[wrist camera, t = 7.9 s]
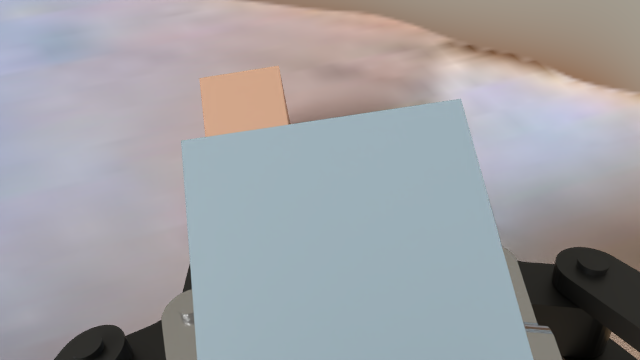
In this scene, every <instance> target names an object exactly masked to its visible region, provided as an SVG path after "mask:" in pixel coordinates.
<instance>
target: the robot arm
mask: <svg viewBox="0 0 640 360" xmlns="http://www.w3.org/2000/svg"><path fill="white" fill-rule="evenodd" d="M502 249H503V252H504V256H505V259H506V263H507V266H508V270H509V274H510V277H511V281H512V284H513V288H514V292H515V295H516V299H517V302H518V306H519V310H520V313H521V317H522V320H523V324H524V327H525V331H526V335H527V338H528V342H529V345H530V349H531V353H532V356H533V360H637V359H636V358H635V357H634V356H632V355H631V354H630V353H628V352H627V351H626V350H624V349H623V348H622V347H620V346H619V345H618V344H617V343H615V342H614V341H613V340H611V339H610V338H609V337H610V334H611V331H612V332H613V333H615V334H616V335H617V336H619V337H620V338H621V339H623V340H624V341H625V342H627V343H628V344H629V345H631V346H632V347H633V348H635V349H636V350H637V351H639V352H640V272H639V271H637V270H635V269H633V268H632V267H630V266H628V265H627V264H625V263H623V262H622V261H620V260H618V259H616V258H615V257H613V256H611V255H609V254H607V253H605V252H602V251H599V250H596V249H591V248H585V247H574V248H568V249H565V250H563V251H561V252H560V253H559V254H558V255H557V257H556V261H555V264H543V263H529V262H521V261H517V260H516V258H515V256H514V255H513V254H512V253H511V252H510V251H508V250H507V249H505V248H504V247H502ZM54 360H197V350H196V336H195V323H194V309H193V295H192V282H191V268H190V265H189V269H188V273H187V277H186V281H185V285H184V289H183V293H182V294H180V295H178V296H177V297H175V298H174V299H173V300H172V301H171V302H170V303H169V304H168V305H167V306H166V308H165V310H164V312H163V314H162V320H160V321H158V322H157V323H155V324H153V325H151V326H148V327H146V328H144V329H141V330H139V331H137V332H134V333H132V334H129V335H127V336H125V334H124V332H123V331H122V330H121V329H120V328H119V327H117V326H114V325H102V326H97V327H94V328H91V329H89V330H87V331H85V332H83V333H81V334H80V335H78V336H76V337H75V338H74V339H72V340H71V341H70V342H69V343H68V344H67V345H66V346H65V347H64V348H63V349H62V350H61V352H60V353H59V354H58V355H57V356H56V358H55V359H54Z"/></svg>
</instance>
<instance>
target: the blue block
mask: <svg viewBox="0 0 640 360" xmlns="http://www.w3.org/2000/svg"><path fill="white" fill-rule="evenodd" d="M181 145H182V159H183V173H184V186H185V200H186V213H187V227H188V241H189V254H190V268H191V282H192V295H193V309H194V323H195V336H196V350H197V360H533V356H532V353H531V349H530V345H529V342H528V338H527V335H526V331H525V327H524V324H523V320H522V317H521V313H520V310H519V306H518V302H517V299H516V295H515V292H514V288H513V284H512V281H511V277H510V274H509V270H508V266H507V263H506V259H505V256H504V252H503V249H502V245H501V241H500V238H499V234H498V231H497V227H496V223H495V220H494V216H493V213H492V209H491V206H490V202H489V198H488V195H487V191H486V188H485V184H484V180H483V177H482V173H481V170H480V166H479V162H478V159H477V155H476V152H475V148H474V145H473V141H472V137H471V134H470V130H469V127H468V123H467V119H466V116H465V112H464V109H463V105H462V101H461V99H456V100H450V101H443V102H436V103H430V104H423V105H416V106H410V107H403V108H396V109H389V110H383V111H376V112H369V113H363V114H356V115H349V116H343V117H336V118H329V119H323V120H316V121H309V122H303V123H296V124H289V125H283V126H276V127H269V128H263V129H256V130H249V131H243V132H236V133H229V134H223V135H216V136H209V137H203V138H196V139H189V140H183V141H181Z"/></svg>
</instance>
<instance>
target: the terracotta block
mask: <svg viewBox="0 0 640 360" xmlns="http://www.w3.org/2000/svg"><path fill="white" fill-rule="evenodd" d="M200 88H201V98H202V107H203V117H204V126H205V136H206V137H209V136H216V135H223V134H229V133H236V132H243V131H249V130H256V129H263V128H269V127H276V126H283V125H289V124H290V120H289V115H288V110H287V105H286V100H285V95H284V90H283V85H282V80H281V75H280V70H279V66H274V67H268V68H261V69H255V70H249V71H242V72H236V73H230V74H223V75H217V76H211V77H204V78H200Z"/></svg>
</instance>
